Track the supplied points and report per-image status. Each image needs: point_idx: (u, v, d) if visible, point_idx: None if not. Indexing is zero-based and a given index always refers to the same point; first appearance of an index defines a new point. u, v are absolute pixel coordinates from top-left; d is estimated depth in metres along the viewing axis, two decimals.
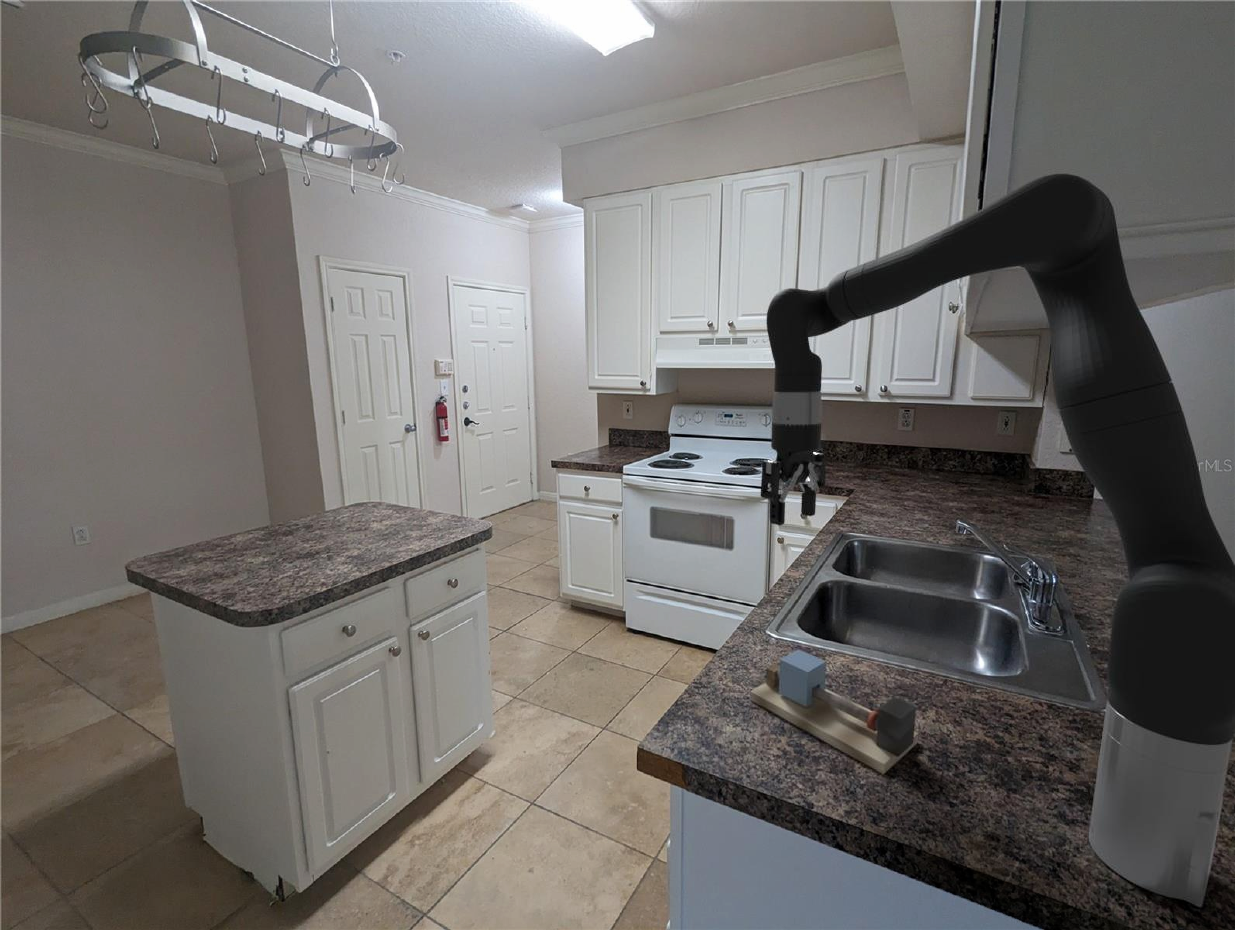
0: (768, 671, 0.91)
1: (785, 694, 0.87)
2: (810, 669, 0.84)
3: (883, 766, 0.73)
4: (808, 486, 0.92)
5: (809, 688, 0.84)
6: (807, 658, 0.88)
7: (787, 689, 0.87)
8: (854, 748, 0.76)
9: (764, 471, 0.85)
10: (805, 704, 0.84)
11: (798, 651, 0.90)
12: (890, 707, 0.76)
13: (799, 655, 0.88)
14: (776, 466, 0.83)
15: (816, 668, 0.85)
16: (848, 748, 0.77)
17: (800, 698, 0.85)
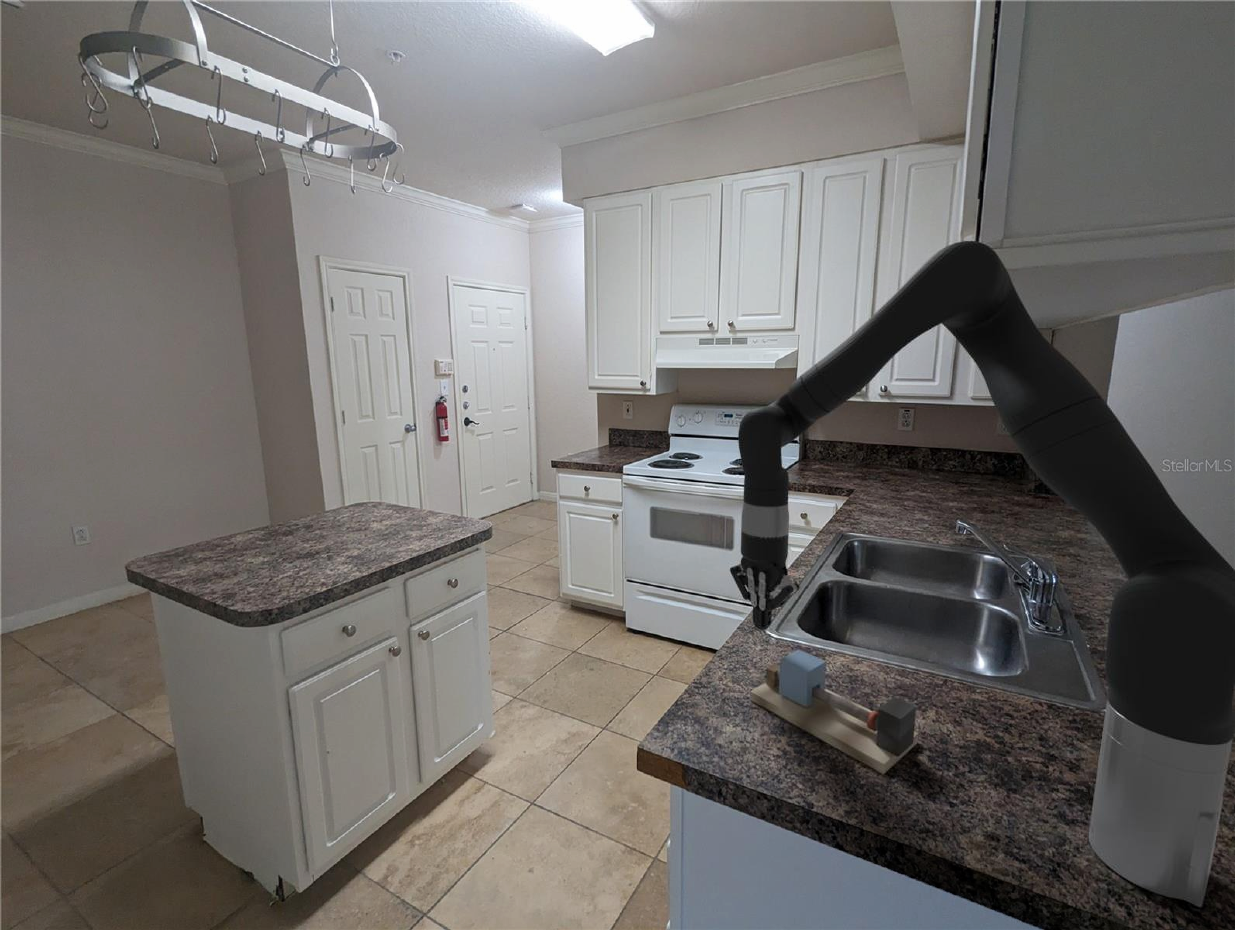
0: (768, 671, 0.91)
1: (785, 694, 0.87)
2: (810, 669, 0.84)
3: (883, 766, 0.73)
4: None
5: (809, 688, 0.84)
6: (807, 658, 0.88)
7: (787, 689, 0.87)
8: (854, 748, 0.76)
9: (787, 596, 0.87)
10: (805, 704, 0.84)
11: (798, 651, 0.90)
12: (890, 707, 0.76)
13: (799, 655, 0.88)
14: None
15: (816, 668, 0.85)
16: (848, 748, 0.77)
17: (800, 698, 0.85)
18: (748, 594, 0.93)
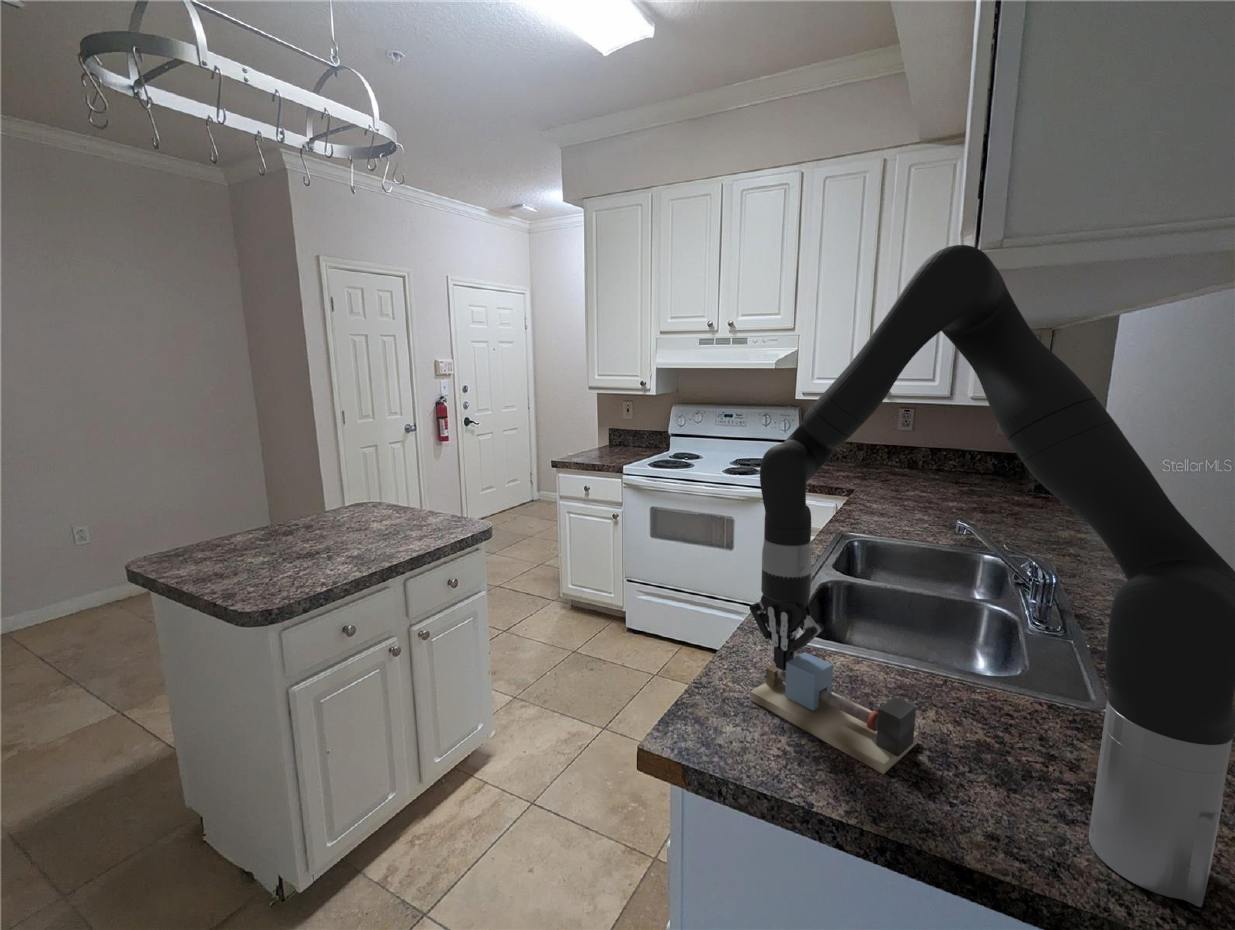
0: (768, 671, 0.91)
1: (791, 697, 0.86)
2: (817, 672, 0.83)
3: (883, 766, 0.73)
4: None
5: (816, 691, 0.83)
6: (814, 661, 0.87)
7: (793, 692, 0.86)
8: (854, 748, 0.76)
9: (811, 637, 0.84)
10: (812, 708, 0.84)
11: (804, 654, 0.89)
12: (890, 707, 0.76)
13: (806, 658, 0.87)
14: None
15: (823, 671, 0.84)
16: (848, 748, 0.77)
17: (807, 701, 0.84)
18: (769, 633, 0.90)
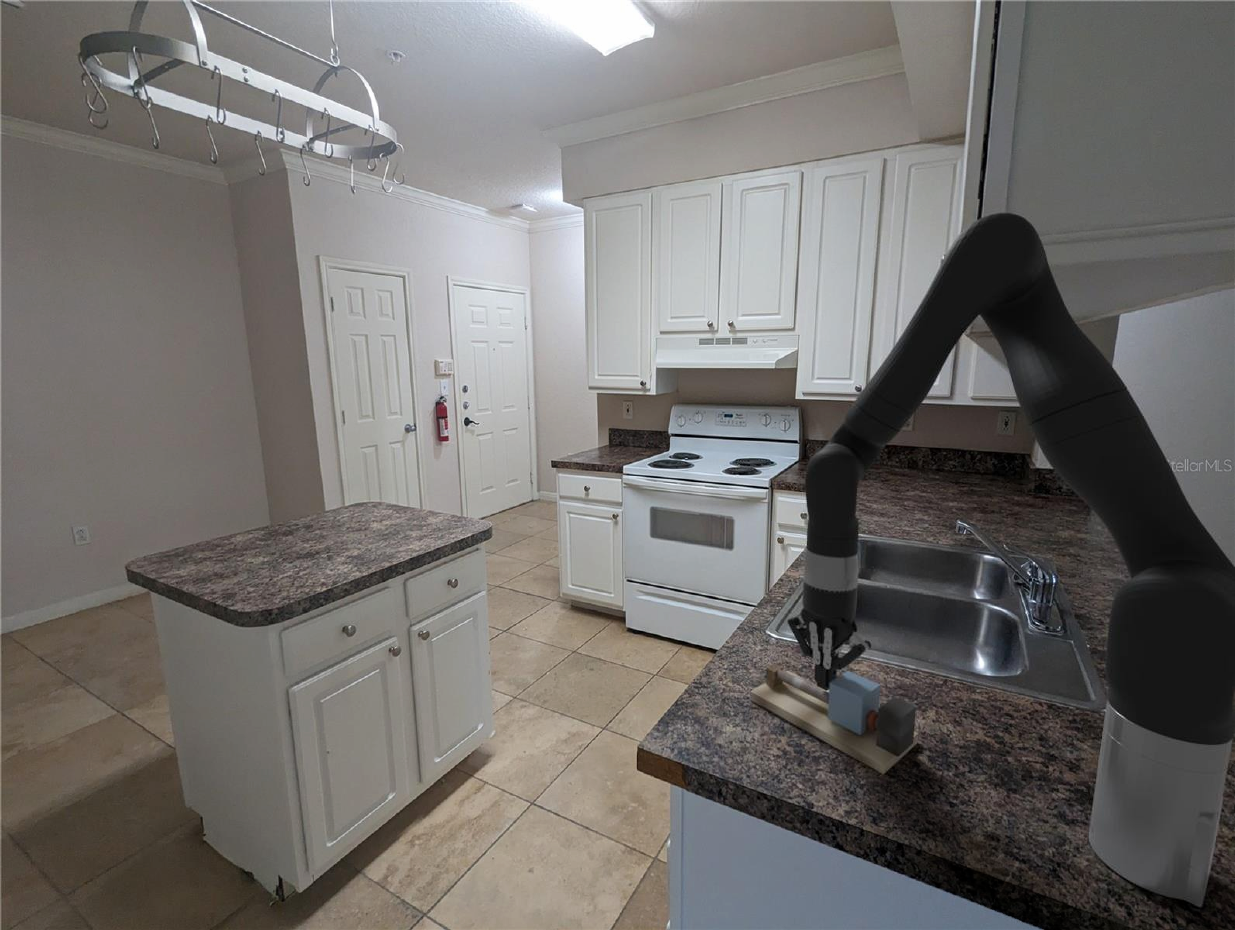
0: (768, 671, 0.91)
1: (835, 720, 0.81)
2: (865, 694, 0.78)
3: (883, 766, 0.73)
4: None
5: (863, 715, 0.78)
6: (859, 681, 0.81)
7: (838, 715, 0.80)
8: (854, 748, 0.76)
9: (858, 656, 0.78)
10: (859, 732, 0.78)
11: (848, 673, 0.83)
12: (890, 707, 0.76)
13: (850, 678, 0.82)
14: None
15: (870, 693, 0.78)
16: (848, 748, 0.77)
17: (853, 725, 0.78)
18: (810, 650, 0.85)
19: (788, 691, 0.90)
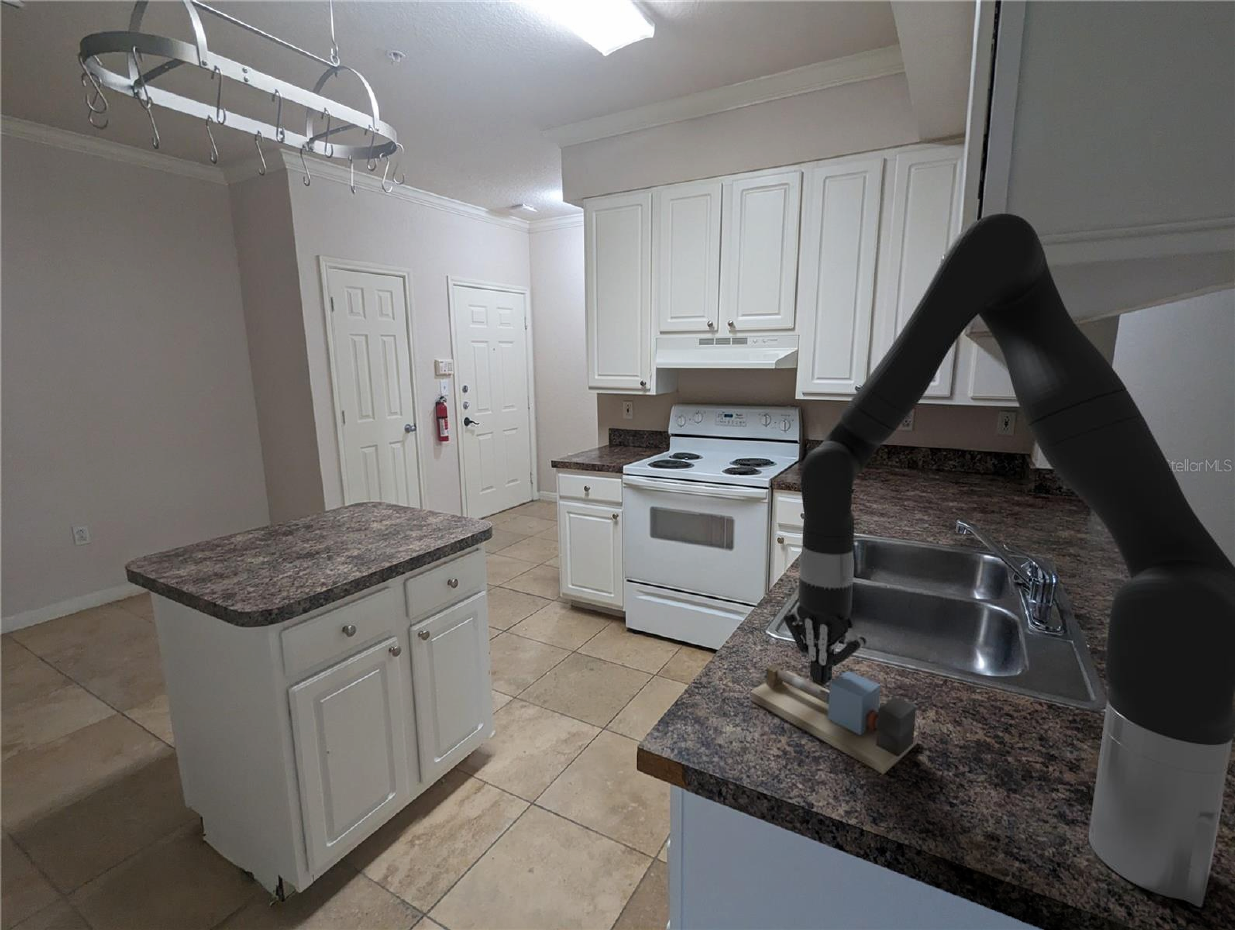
0: (768, 671, 0.91)
1: (835, 720, 0.81)
2: (865, 694, 0.78)
3: (883, 766, 0.73)
4: None
5: (863, 715, 0.78)
6: (859, 681, 0.81)
7: (838, 715, 0.80)
8: (854, 748, 0.76)
9: (853, 652, 0.79)
10: (859, 732, 0.78)
11: (848, 673, 0.83)
12: (890, 707, 0.76)
13: (850, 678, 0.82)
14: None
15: (871, 693, 0.78)
16: (848, 748, 0.77)
17: (853, 725, 0.78)
18: (805, 646, 0.85)
19: (788, 691, 0.90)
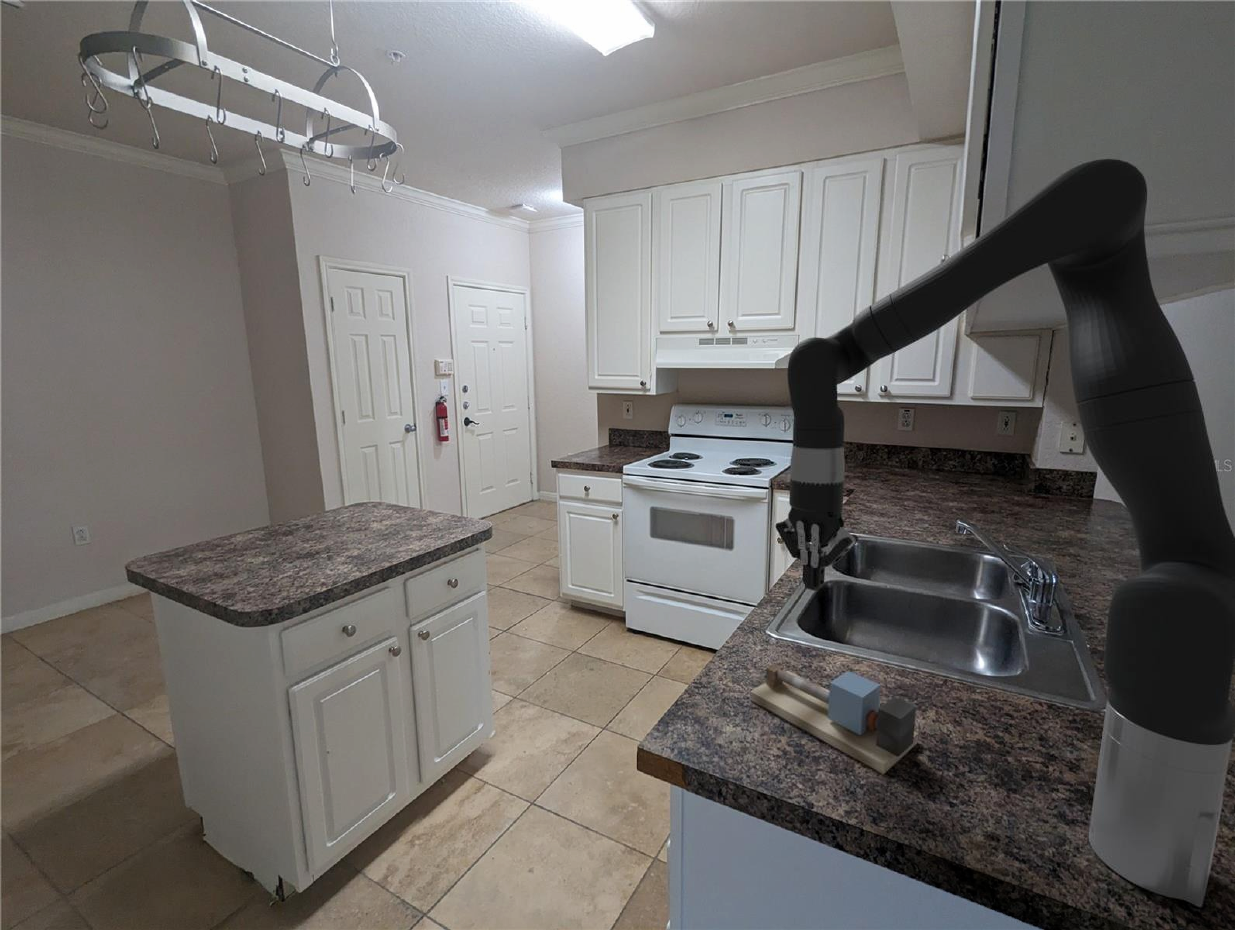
0: (768, 671, 0.91)
1: (835, 720, 0.81)
2: (865, 694, 0.78)
3: (883, 766, 0.73)
4: None
5: (863, 715, 0.78)
6: (859, 681, 0.81)
7: (838, 715, 0.80)
8: (854, 748, 0.76)
9: (845, 549, 0.78)
10: (859, 732, 0.78)
11: (848, 673, 0.83)
12: (890, 707, 0.76)
13: (850, 678, 0.82)
14: None
15: (871, 693, 0.78)
16: (848, 748, 0.77)
17: (853, 725, 0.78)
18: (797, 551, 0.84)
19: (788, 691, 0.90)
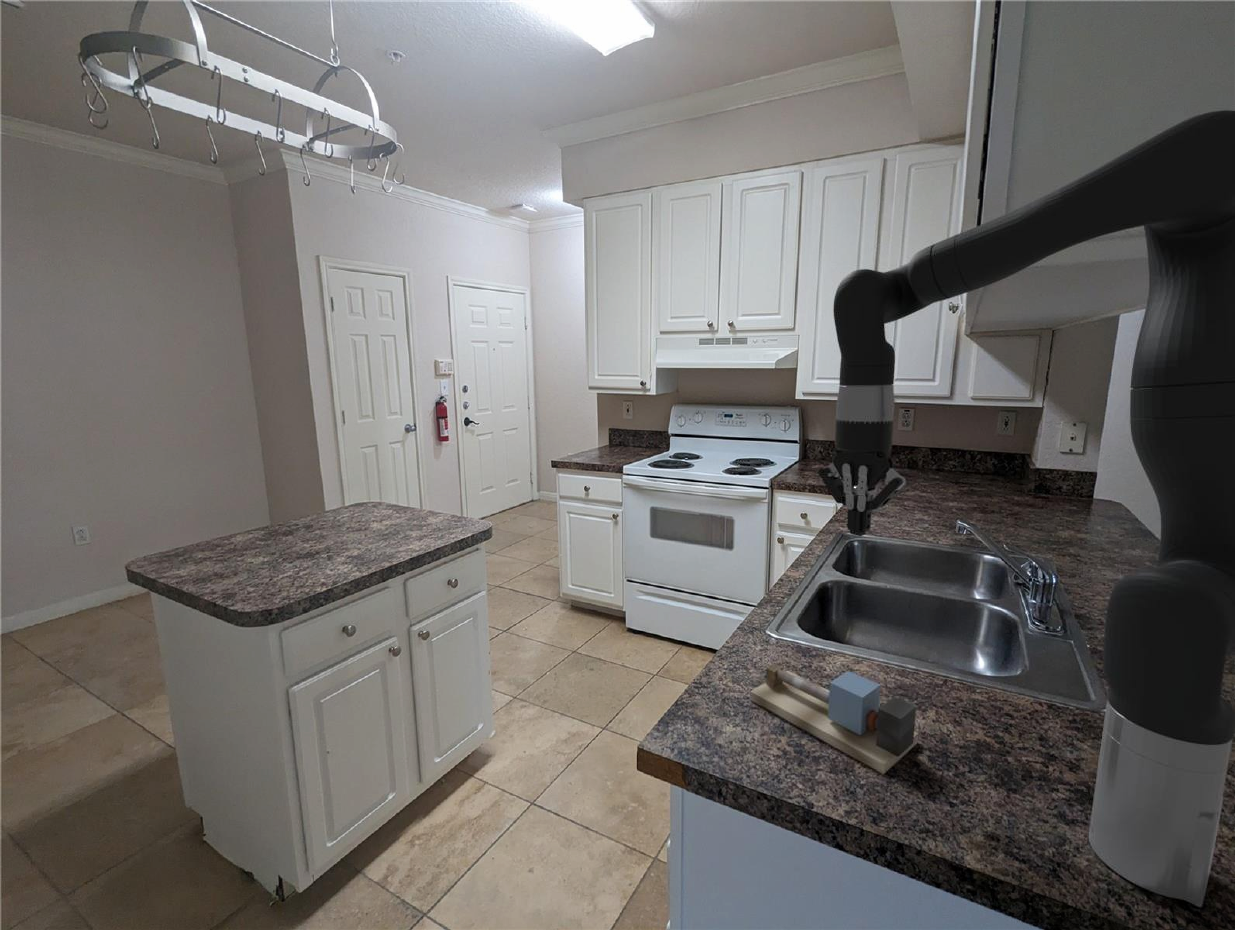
0: (768, 671, 0.91)
1: (835, 720, 0.81)
2: (865, 694, 0.78)
3: (883, 766, 0.73)
4: None
5: (863, 715, 0.78)
6: (859, 681, 0.81)
7: (838, 715, 0.80)
8: (854, 748, 0.76)
9: (895, 490, 0.76)
10: (859, 732, 0.78)
11: (848, 673, 0.83)
12: (890, 707, 0.76)
13: (850, 678, 0.82)
14: None
15: (871, 693, 0.78)
16: (848, 748, 0.77)
17: (853, 725, 0.78)
18: (842, 496, 0.82)
19: (788, 691, 0.90)
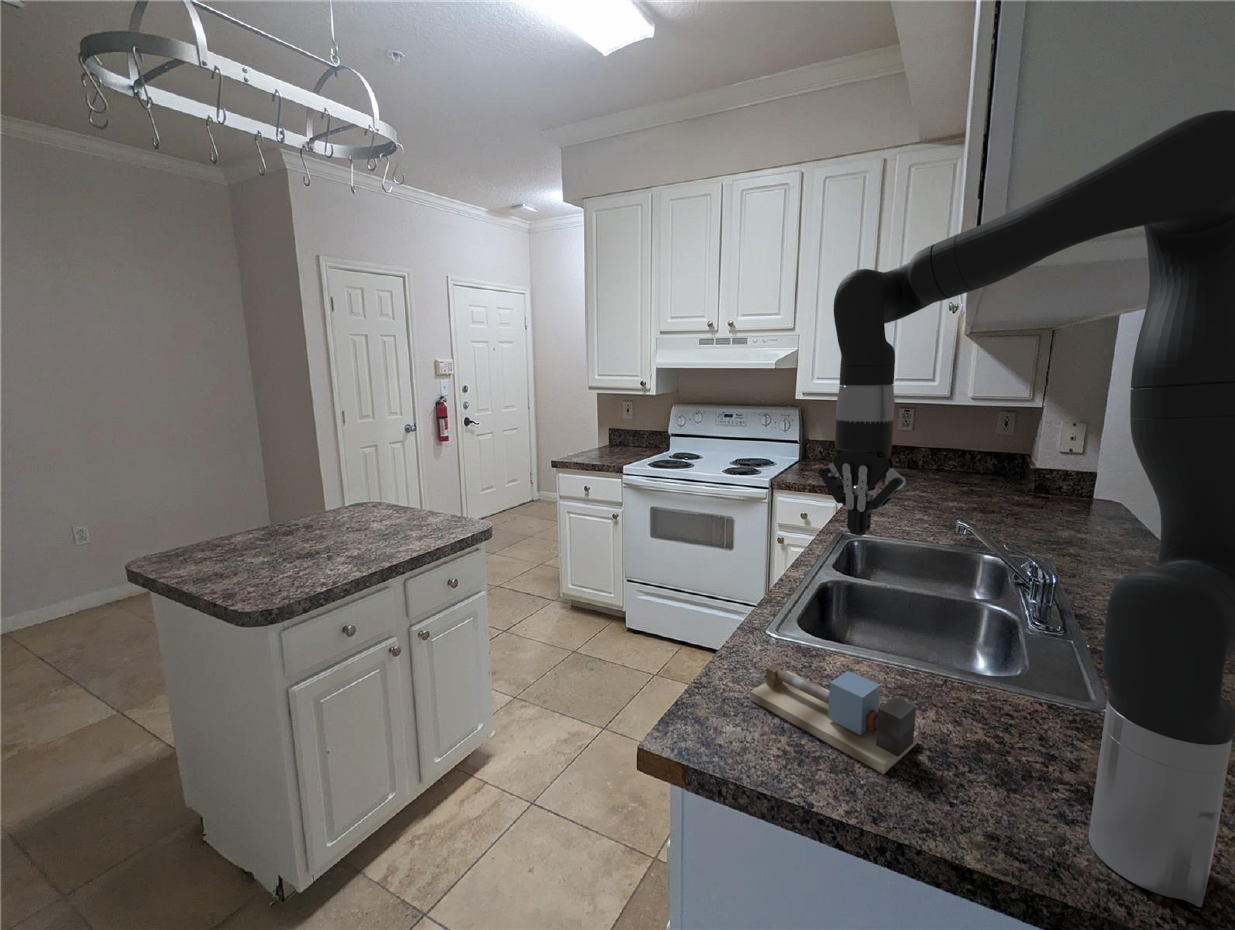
0: (768, 671, 0.91)
1: (835, 720, 0.81)
2: (865, 694, 0.78)
3: (883, 766, 0.73)
4: None
5: (863, 715, 0.78)
6: (859, 681, 0.81)
7: (838, 715, 0.80)
8: (854, 748, 0.76)
9: (895, 490, 0.76)
10: (859, 732, 0.78)
11: (848, 673, 0.83)
12: (890, 707, 0.76)
13: (850, 678, 0.82)
14: None
15: (871, 693, 0.78)
16: (848, 748, 0.77)
17: (853, 725, 0.78)
18: (842, 496, 0.82)
19: (788, 691, 0.90)
